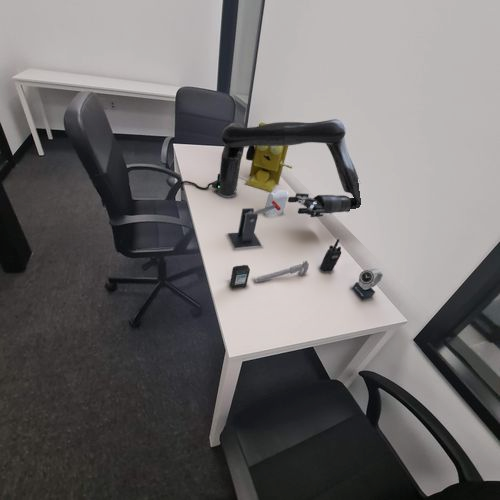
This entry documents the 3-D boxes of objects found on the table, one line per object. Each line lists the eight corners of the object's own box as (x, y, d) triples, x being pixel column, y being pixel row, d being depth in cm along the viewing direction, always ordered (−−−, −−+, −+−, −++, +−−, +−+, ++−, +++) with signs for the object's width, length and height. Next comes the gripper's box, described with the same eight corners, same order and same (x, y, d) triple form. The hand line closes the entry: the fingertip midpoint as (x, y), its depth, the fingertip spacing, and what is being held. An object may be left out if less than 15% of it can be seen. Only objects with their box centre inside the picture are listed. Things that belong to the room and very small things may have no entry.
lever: (275, 204, 102) (274, 199, 100) (280, 210, 99) (280, 205, 97) (244, 216, 101) (243, 211, 99) (248, 223, 97) (247, 218, 95)
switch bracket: (252, 233, 111) (259, 205, 102) (260, 247, 104) (268, 217, 96) (227, 235, 107) (232, 206, 98) (234, 249, 100) (240, 219, 92)
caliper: (304, 272, 97) (309, 259, 93) (305, 274, 96) (311, 261, 93) (253, 280, 89) (257, 267, 85) (255, 283, 89) (258, 269, 85)
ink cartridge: (231, 289, 84) (235, 271, 80) (229, 284, 86) (233, 266, 81) (246, 287, 86) (250, 269, 81) (243, 282, 88) (247, 264, 83)
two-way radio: (321, 273, 99) (336, 241, 90) (316, 265, 102) (330, 233, 93) (333, 272, 100) (350, 241, 91) (328, 264, 104) (343, 233, 94)
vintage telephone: (229, 179, 148) (237, 123, 129) (237, 171, 158) (245, 118, 140) (282, 195, 144) (298, 139, 125) (287, 186, 155) (302, 133, 136)
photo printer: (278, 210, 131) (285, 187, 123) (283, 214, 128) (290, 191, 121) (262, 213, 125) (267, 189, 118) (267, 218, 123) (273, 194, 115)
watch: (347, 289, 94) (361, 267, 88) (364, 285, 98) (378, 263, 91) (358, 301, 90) (372, 279, 84) (374, 297, 94) (390, 275, 87)
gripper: (320, 187, 111) (287, 187, 105) (340, 205, 101) (305, 206, 95) (315, 203, 116) (283, 204, 110) (333, 221, 106) (299, 223, 100)
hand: (293, 205), depth 103 cm, fingers open, 8 cm apart
